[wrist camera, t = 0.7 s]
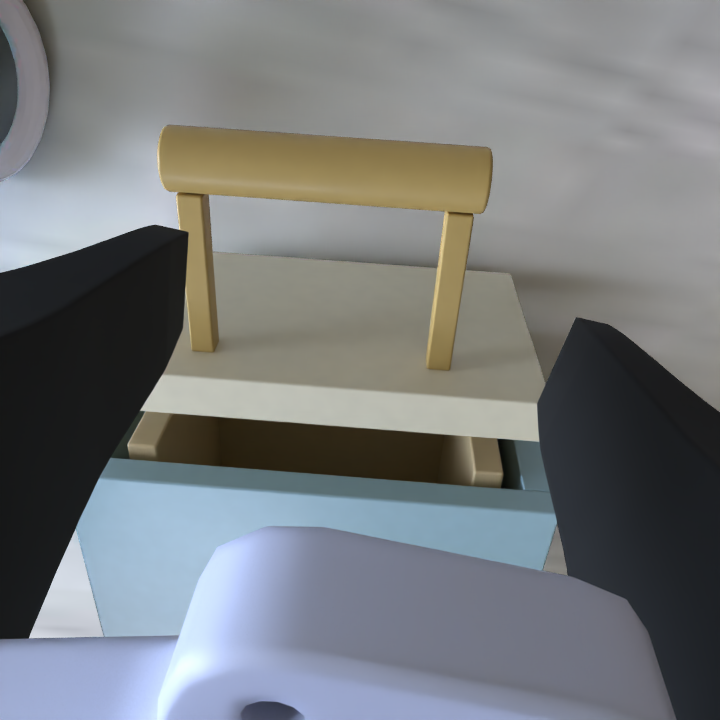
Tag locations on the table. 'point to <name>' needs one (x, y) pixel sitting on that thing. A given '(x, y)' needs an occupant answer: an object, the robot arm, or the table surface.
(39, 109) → the pacifier
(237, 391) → the drawer
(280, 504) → the cabinet
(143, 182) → the table surface
